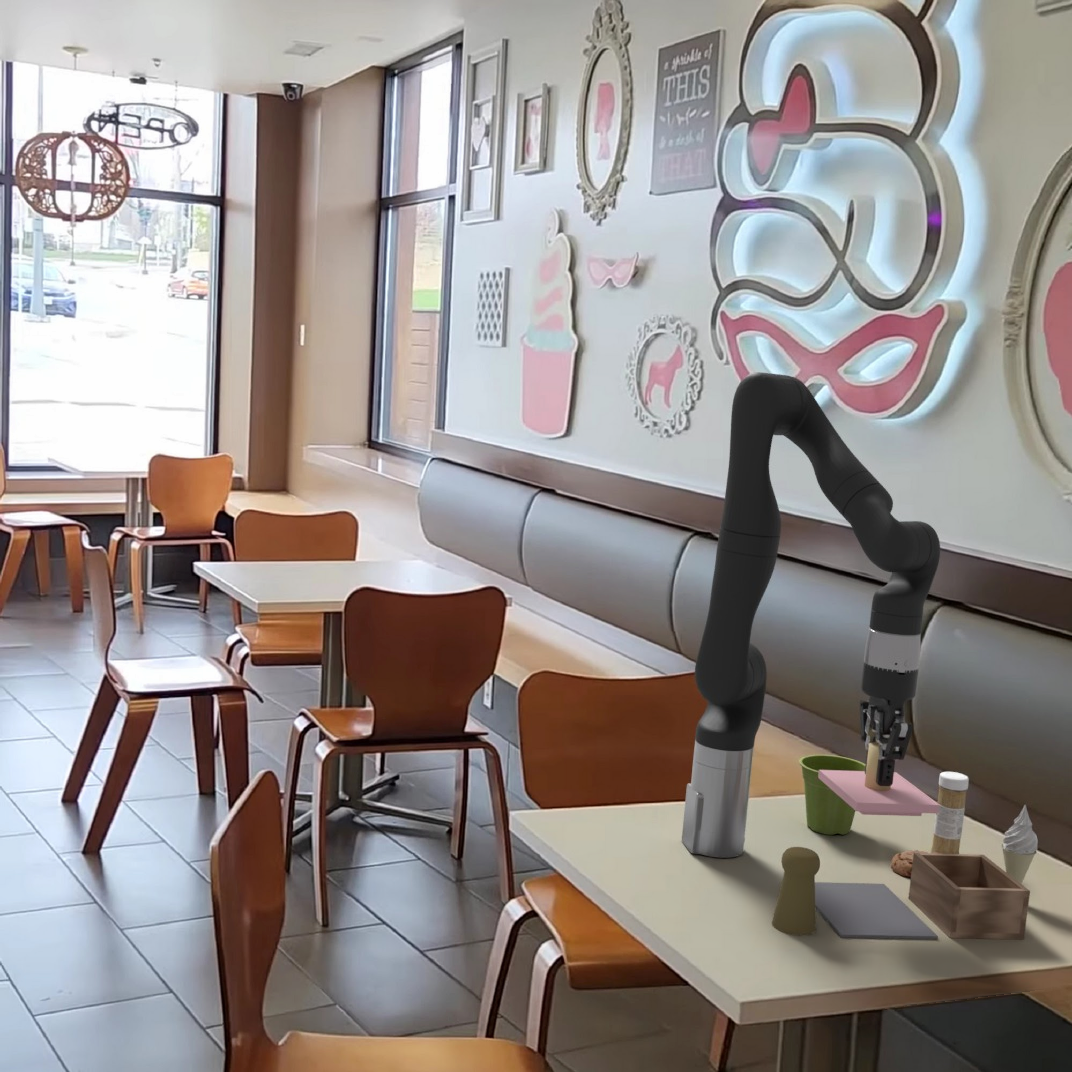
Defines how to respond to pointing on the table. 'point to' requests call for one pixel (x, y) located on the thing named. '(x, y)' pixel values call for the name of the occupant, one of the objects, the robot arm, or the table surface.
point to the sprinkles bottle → (950, 813)
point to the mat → (868, 912)
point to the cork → (797, 892)
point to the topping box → (969, 896)
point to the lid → (877, 790)
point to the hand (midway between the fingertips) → (878, 780)
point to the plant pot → (827, 794)
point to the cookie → (904, 862)
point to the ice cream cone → (1019, 846)
